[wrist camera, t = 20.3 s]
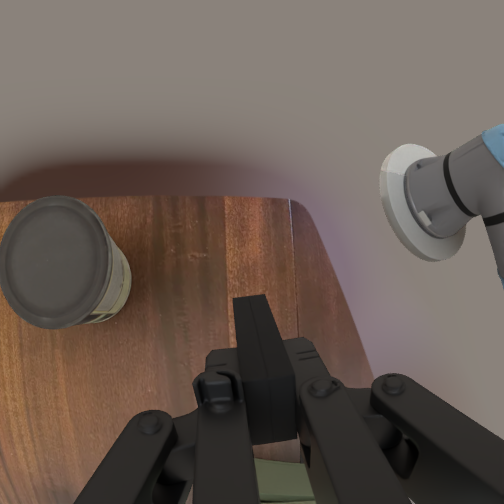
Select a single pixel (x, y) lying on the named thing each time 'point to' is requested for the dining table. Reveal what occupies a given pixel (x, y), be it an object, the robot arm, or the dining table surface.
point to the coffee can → (62, 265)
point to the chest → (282, 482)
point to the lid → (302, 503)
